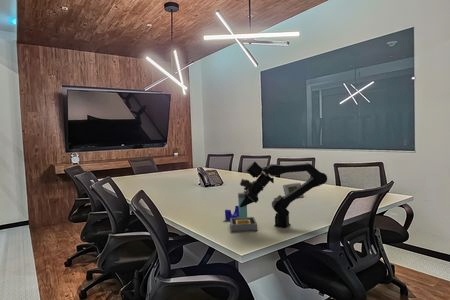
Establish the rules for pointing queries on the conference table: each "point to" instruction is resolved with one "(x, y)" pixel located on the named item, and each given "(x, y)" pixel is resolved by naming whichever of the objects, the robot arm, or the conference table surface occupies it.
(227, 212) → the cable clip
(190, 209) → the conference table surface
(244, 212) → the plug
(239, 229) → the socket box
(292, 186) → the digital clock
